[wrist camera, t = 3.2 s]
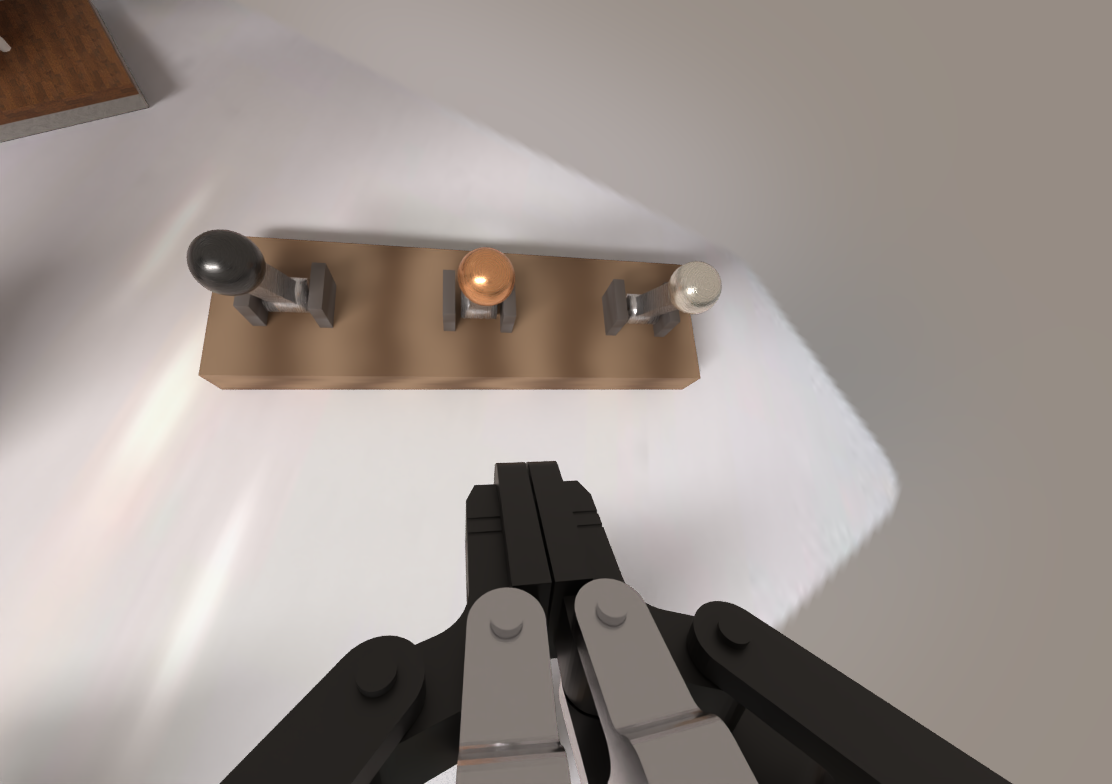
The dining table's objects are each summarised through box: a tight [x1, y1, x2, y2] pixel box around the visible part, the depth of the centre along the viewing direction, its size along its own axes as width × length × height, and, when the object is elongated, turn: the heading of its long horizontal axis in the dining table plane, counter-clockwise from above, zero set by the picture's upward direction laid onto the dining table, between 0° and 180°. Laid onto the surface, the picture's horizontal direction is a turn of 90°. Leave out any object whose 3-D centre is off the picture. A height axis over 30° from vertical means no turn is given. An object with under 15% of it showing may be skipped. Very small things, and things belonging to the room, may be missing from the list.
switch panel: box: [199, 236, 700, 389], centre depth 33 cm, size 34×10×6 cm, turn 93°
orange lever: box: [457, 247, 515, 319], centre depth 28 cm, size 3×3×11 cm
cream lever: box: [626, 261, 722, 324], centre depth 30 cm, size 3×3×11 cm
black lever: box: [187, 230, 310, 313], centre depth 25 cm, size 3×3×11 cm
